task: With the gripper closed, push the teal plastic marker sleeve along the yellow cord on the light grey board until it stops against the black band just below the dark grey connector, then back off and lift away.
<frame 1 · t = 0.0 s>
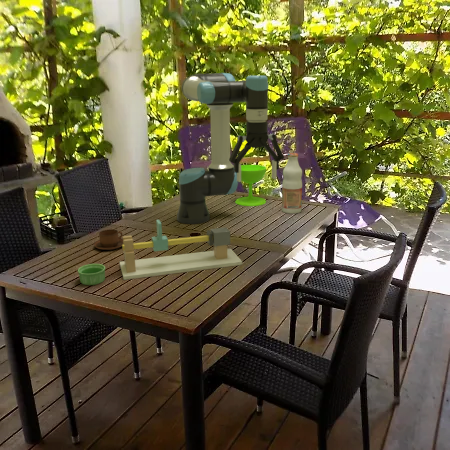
hand: (256, 180, 186), 28 cm above the table, tool pointing down, fingers open, 13 cm apart
sleeve: (159, 235, 177), point 12 cm above the table, slide at 0.0 cm
ramekin: (92, 281, 171), on the table
cord rig: (180, 264, 183), on the table
wineglass: (250, 202, 264), on the table
cup and saucer: (109, 247, 203), on the table
fruit juice: (291, 211, 246), on the table
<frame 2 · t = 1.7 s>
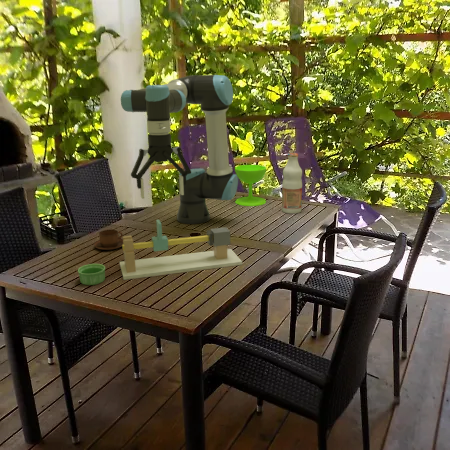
hand: (162, 196, 174), 26 cm above the table, tool pointing down, fingers open, 13 cm apart
nothing on the table moved.
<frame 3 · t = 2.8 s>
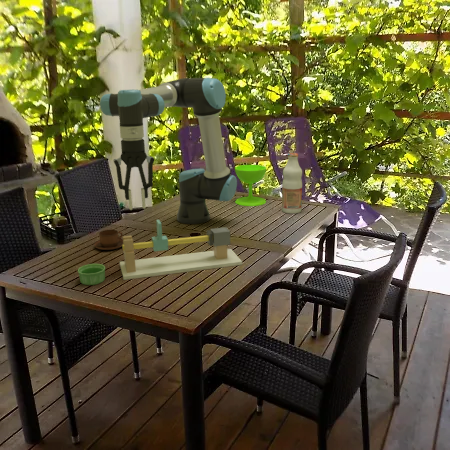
hand: (137, 207, 172), 23 cm above the table, tool pointing down, fingers open, 4 cm apart
nothing on the table moved.
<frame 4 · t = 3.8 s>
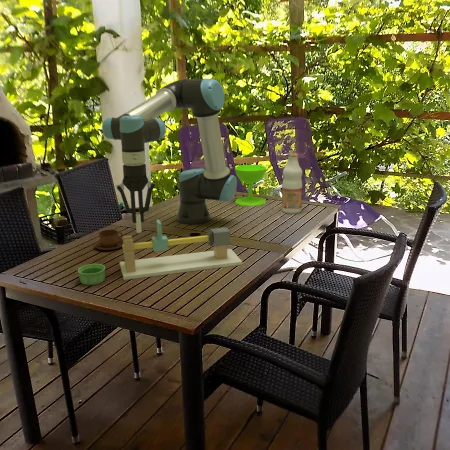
hand: (138, 231, 175), 14 cm above the table, tool pointing down, fingers closed
nothing on the table moved.
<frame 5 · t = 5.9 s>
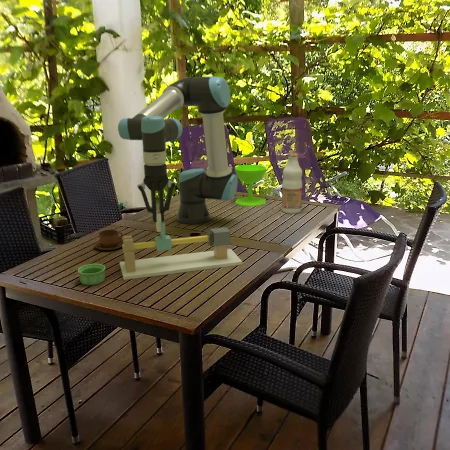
hand: (159, 230, 177), 14 cm above the table, tool pointing down, fingers closed
sleeve: (162, 235, 178), point 12 cm above the table, slide at 1.2 cm, touching gripper
everything else where it was.
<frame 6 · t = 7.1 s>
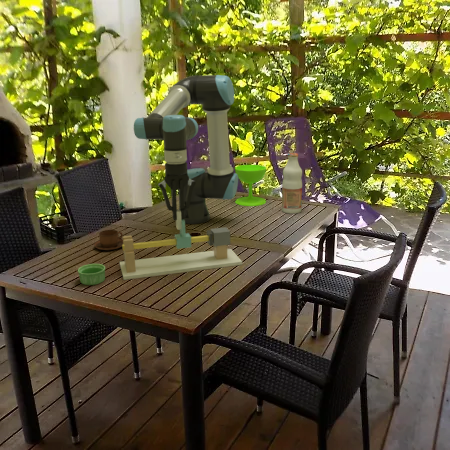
hand: (179, 228, 179), 14 cm above the table, tool pointing down, fingers closed
sleeve: (182, 232, 180), point 12 cm above the table, slide at 8.2 cm, touching gripper
everything else where it was.
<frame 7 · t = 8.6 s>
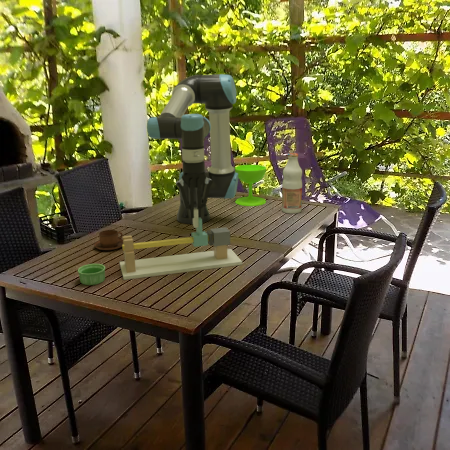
hand: (195, 226, 180), 14 cm above the table, tool pointing down, fingers closed
sleeve: (199, 231, 181), point 12 cm above the table, slide at 14.3 cm, touching gripper
everything else where it was.
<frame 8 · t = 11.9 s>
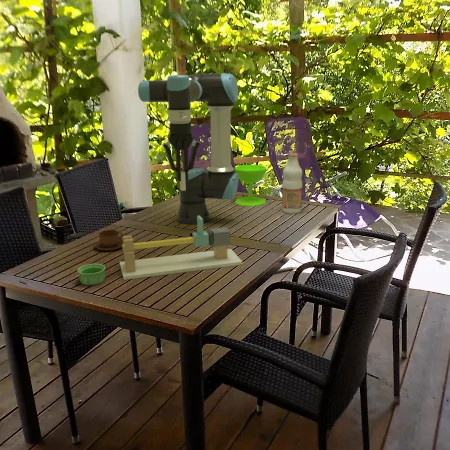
hand: (183, 189, 180), 26 cm above the table, tool pointing down, fingers closed
sleeve: (200, 230, 181), point 12 cm above the table, slide at 14.7 cm
everything else where it was.
at the end: sleeve slide at 14.7 cm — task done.
